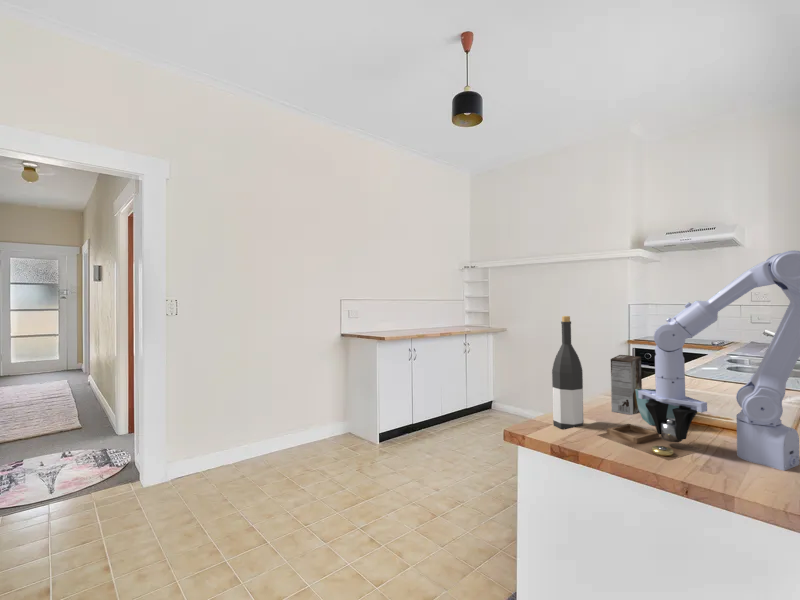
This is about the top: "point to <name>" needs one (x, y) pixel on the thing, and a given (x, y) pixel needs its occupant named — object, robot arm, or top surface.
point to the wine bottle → (567, 383)
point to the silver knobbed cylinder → (669, 430)
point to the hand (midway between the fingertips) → (671, 436)
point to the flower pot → (645, 411)
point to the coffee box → (625, 383)
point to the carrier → (646, 440)
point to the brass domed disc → (662, 451)
